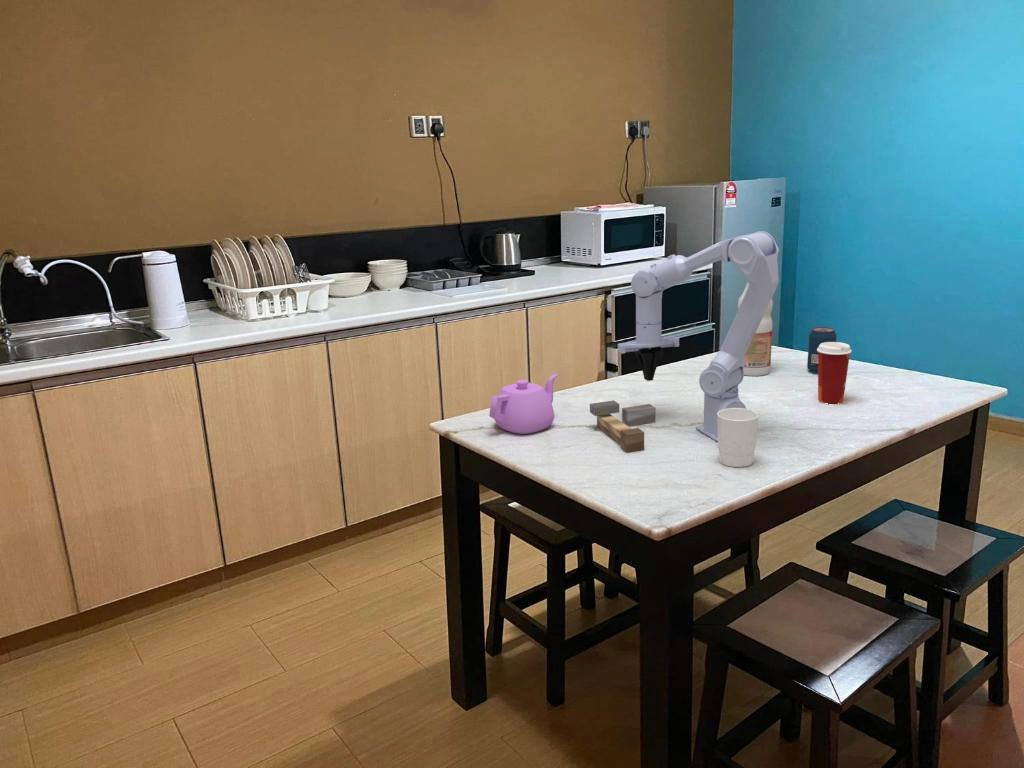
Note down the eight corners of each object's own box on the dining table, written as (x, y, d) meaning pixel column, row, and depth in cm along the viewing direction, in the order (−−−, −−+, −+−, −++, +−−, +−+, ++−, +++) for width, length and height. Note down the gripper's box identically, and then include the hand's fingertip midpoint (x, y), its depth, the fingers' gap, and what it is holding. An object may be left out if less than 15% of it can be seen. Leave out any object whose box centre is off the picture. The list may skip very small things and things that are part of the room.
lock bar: (619, 412, 179) (619, 404, 178) (595, 416, 177) (594, 407, 177) (614, 408, 182) (614, 400, 181) (589, 412, 180) (589, 403, 180)
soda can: (815, 367, 220) (818, 325, 216) (839, 371, 215) (842, 328, 211) (801, 372, 216) (804, 329, 212) (825, 377, 210) (828, 333, 207)
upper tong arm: (635, 438, 168) (635, 431, 168) (622, 440, 168) (622, 433, 167) (609, 419, 181) (609, 413, 181) (597, 421, 181) (596, 414, 180)
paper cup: (854, 403, 189) (859, 346, 185) (829, 408, 186) (833, 350, 182) (830, 394, 196) (834, 339, 192) (806, 399, 193) (809, 343, 189)
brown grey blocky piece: (686, 443, 169) (687, 425, 168) (626, 452, 165) (626, 434, 164) (649, 418, 185) (649, 402, 184) (594, 426, 181) (593, 410, 180)
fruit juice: (727, 371, 220) (730, 271, 212) (751, 365, 224) (755, 267, 216) (753, 378, 212) (758, 275, 204) (777, 372, 217) (782, 270, 209)
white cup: (749, 452, 162) (751, 406, 159) (762, 467, 154) (764, 419, 152) (711, 455, 162) (712, 408, 159) (722, 469, 154) (723, 421, 151)
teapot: (577, 422, 185) (576, 376, 182) (510, 443, 174) (508, 395, 171) (540, 409, 196) (538, 366, 192) (475, 429, 184) (472, 383, 181)
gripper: (669, 315, 185) (668, 371, 189) (612, 322, 181) (612, 379, 185) (683, 321, 178) (683, 378, 182) (625, 328, 174) (625, 386, 178)
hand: (648, 379), depth 183 cm, fingers closed
